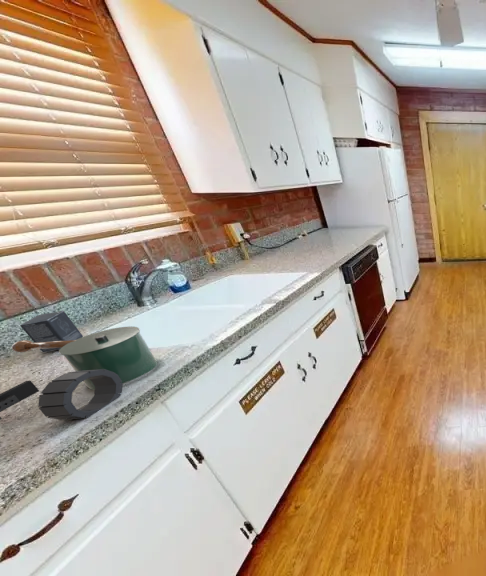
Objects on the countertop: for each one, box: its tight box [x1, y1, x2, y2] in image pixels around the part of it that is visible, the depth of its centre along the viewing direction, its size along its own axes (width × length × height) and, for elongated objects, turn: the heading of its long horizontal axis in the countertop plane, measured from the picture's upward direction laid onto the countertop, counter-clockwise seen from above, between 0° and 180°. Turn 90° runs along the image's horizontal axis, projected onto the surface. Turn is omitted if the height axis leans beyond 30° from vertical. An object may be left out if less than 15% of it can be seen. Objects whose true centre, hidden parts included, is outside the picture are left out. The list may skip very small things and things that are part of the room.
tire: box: [37, 369, 124, 421], centre depth 71 cm, size 11×5×11 cm, turn 7°
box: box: [19, 310, 84, 353], centre depth 96 cm, size 8×6×11 cm
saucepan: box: [11, 326, 158, 391], centre depth 82 cm, size 27×14×13 cm, turn 97°
